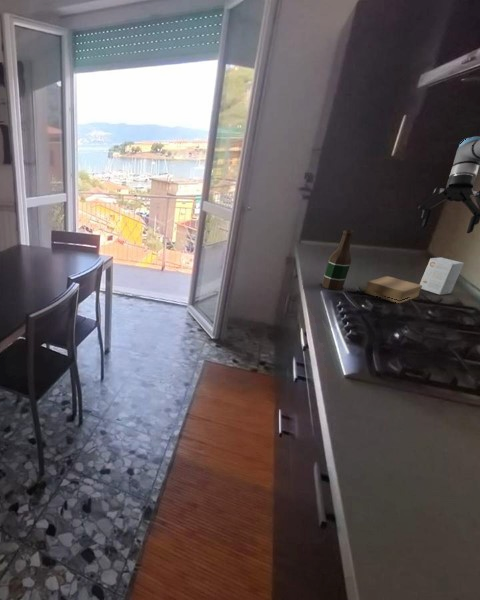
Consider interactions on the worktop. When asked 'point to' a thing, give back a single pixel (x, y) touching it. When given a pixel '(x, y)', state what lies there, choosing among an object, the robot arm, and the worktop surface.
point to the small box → (441, 275)
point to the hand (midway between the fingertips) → (446, 229)
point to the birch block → (393, 289)
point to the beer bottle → (338, 264)
